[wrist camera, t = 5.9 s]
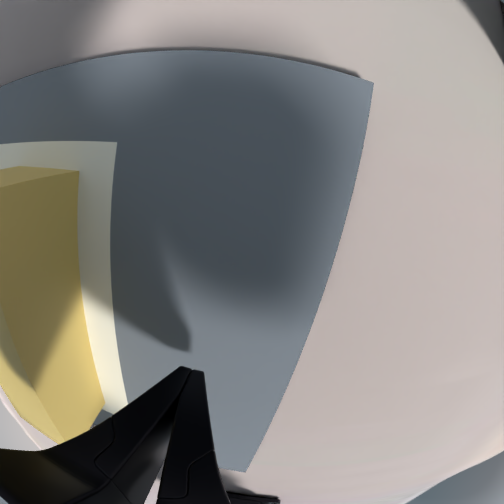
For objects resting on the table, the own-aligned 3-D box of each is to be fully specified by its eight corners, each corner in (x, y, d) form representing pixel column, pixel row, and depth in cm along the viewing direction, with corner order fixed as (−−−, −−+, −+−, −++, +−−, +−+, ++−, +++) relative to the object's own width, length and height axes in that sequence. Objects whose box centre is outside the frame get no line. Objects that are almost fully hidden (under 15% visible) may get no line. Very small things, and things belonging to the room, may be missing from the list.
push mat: (246, 466, 13) (245, 472, 13) (5, 360, 14) (2, 363, 13) (368, 86, 6) (373, 83, 6) (-27, 102, 7) (-33, 102, 6)
